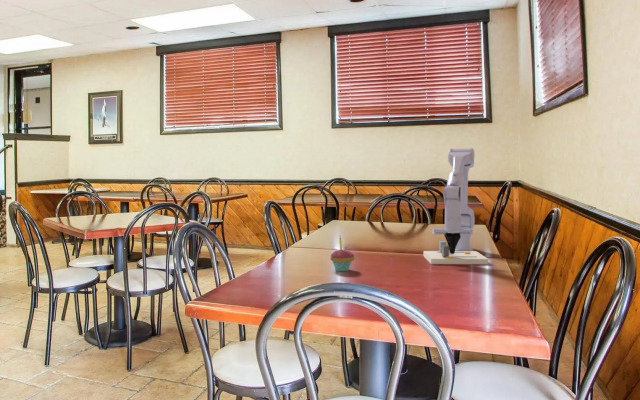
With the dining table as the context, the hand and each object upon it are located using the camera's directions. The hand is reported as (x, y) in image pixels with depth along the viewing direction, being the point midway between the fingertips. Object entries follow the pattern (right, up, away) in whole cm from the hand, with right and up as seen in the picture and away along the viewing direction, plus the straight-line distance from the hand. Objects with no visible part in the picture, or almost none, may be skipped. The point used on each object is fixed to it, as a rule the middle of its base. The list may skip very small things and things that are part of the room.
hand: (451, 253), depth 174 cm
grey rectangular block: (-1, 0, +9) cm, 9 cm away
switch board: (+2, -3, +4) cm, 6 cm away
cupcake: (-42, -5, -11) cm, 44 cm away
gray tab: (-3, -1, 0) cm, 3 cm away
